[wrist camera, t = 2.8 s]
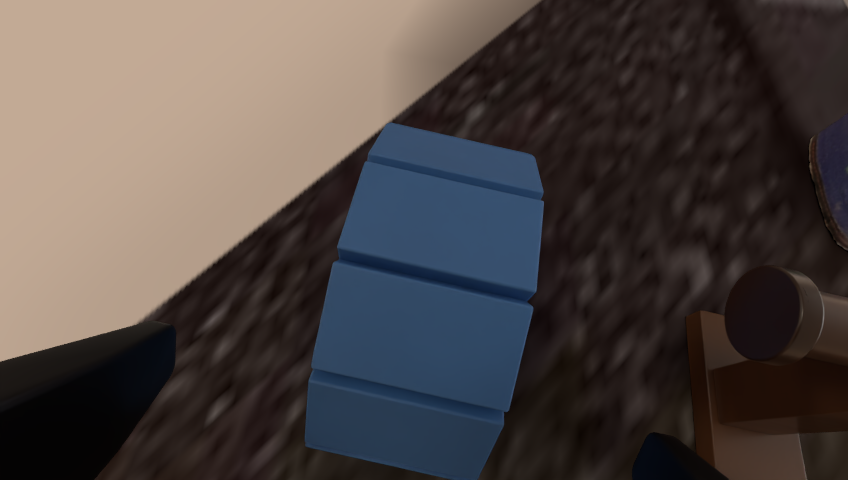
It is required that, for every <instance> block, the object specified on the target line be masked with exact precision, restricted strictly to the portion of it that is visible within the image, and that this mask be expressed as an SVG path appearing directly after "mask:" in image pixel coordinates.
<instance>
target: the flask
mask: <svg viewBox="0 0 848 480" xmlns="http://www.w3.org/2000/svg"><path fill="white" fill-rule="evenodd" d="M810 141H811V143H810V144H809V153H810V154H809V155H810V156H809V161H810V166H809V167H810V172H811V174H812V179H813V181H814V182H815V185H816V186H815V187H816V191H815V192H816V194H817V196H818V201H819V205H820V206H821V210H822V212H823V214H822V215H823V216H824V218H825V224H826V227H828V229H829V230H830V231H831V233H832V235H833V236H832V237H833V238H834V240H836V242H837V245H840V246H842V247H843V248H844V249H846V250H847V251H848V113H847V114H846V115H844V116H843V117H842V118H840V119H839V120H838V121H836V122H834V123H833V124H831V125H830V126H829V127H827V128H826V129H825V130H823V131H821V132H819V133H818V134H817V135H815V136H813V137H812V138H811V140H810Z"/></svg>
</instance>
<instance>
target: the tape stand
mask: <svg viewBox="0 0 848 480" xmlns="http://www.w3.org/2000/svg"><path fill="white" fill-rule="evenodd" d="M686 329H687V342H688V354H689V367H690V379H691V391H692V404H693V416H694V429H695V441H696V453H697V455H699V456H700V457H701V458H703V459H704V460H705V461H707V462H708V463H709V464H710V465H712V466H713V467H714V468H716V469H717V470H718V471H719V472H721V473H722V474H723V475H725V476H726V477H727V478H728V479H730V480H807V478H806V472H805V467H804V461H803V456H802V450H801V445H800V439H799V434H802V433H820V432H839V431H848V298H847V297H843V296H838V295H834V294H829V293H825V292H820V291H819V290H818V288H817V287H816V285H815V284H814V283H813V282H812V280H810V279H809V278H808V277H807V276H806V275H804V274H802V273H801V272H798V271H796V270H792V269H787V268H783V267H778V266H774V265H765V266H760V267H756V268H754V269H752V270H750V271H748V272H747V273H745V274H744V275H743V276H742V277H741V278H740V279H739V280H738V281H737V282H736V284H735V285H734V287H733V288H732V290H731V292H730V294H729V297H728V300H727V303H726V307H725V316H724V315H720V314H715V313H711V312H707V311H702V310H700V311H697V312H695V313H693V314H691V315H689V316H686Z"/></svg>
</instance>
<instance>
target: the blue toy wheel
mask: <svg viewBox="0 0 848 480" xmlns="http://www.w3.org/2000/svg"><path fill="white" fill-rule="evenodd" d="M542 196H543V188H542V184H541V180H540V176H539V172H538V168H537V164H536V160H535V157H534V156H532V155H531V154H527V153H523V152H518V151H514V150H509V149H505V148H501V147H496V146H492V145H487V144H483V143H478V142H474V141H470V140H465V139H461V138H456V137H452V136H448V135H443V134H439V133H434V132H430V131H425V130H421V129H417V128H412V127H408V126H403V125H399V124H394V123H387V124H386V126H385V127H384V129H383V131H382V132H381V134H380V136H379V137H378V139H377V140H376V142H375V144H374V145H373V147H372V149H371V150H370V152H369V153H368V161H366V162H365V163H364V166H363V169H362V172H361V175H360V178H359V181H358V184H357V187H356V190H355V194H354V197H353V200H352V203H351V206H350V209H349V212H348V215H347V218H346V221H345V224H344V227H343V230H342V233H341V237H340V240H339V243H338V246H337V247H338V253H339V259H340V260H337V261H335V262H334V263H333V265H332V269H331V274H330V279H329V283H328V288H327V293H326V297H325V302H324V307H323V311H322V316H321V321H320V325H319V330H318V334H317V339H316V344H315V348H314V353H313V358H312V362H311V368H313V371H312V373H311V376H310V378H309V381H308V397H307V412H306V428H305V442H306V444H305V446H306V447H309V448H313V449H318V450H322V451H327V452H331V453H335V454H340V455H344V456H349V457H353V458H358V459H362V460H367V461H371V462H376V463H380V464H384V465H389V466H393V467H398V468H402V469H407V470H411V471H416V472H420V473H425V474H429V475H433V476H438V477H442V478H447V479H451V480H477V479H478V477H479V475H480V473H481V471H482V469H483V467H484V465H485V463H486V461H487V459H488V457H489V455H490V453H491V451H492V449H493V446H494V444H495V442H496V440H497V438H498V436H499V434H500V432H501V430H502V428H503V426H504V412H508V411H509V408H510V404H511V400H512V396H513V391H514V387H515V383H516V379H517V375H518V371H519V367H520V362H521V358H522V354H523V350H524V346H525V342H526V338H527V333H528V329H529V325H530V321H531V317H532V313H533V307H532V306H531V305H530V304H529V303H528V302H527V301H528V300H529V299H530V298H531V297H532V296H533V295H534V294H535V293H536V290H537V278H538V267H539V255H540V243H541V231H542V219H543V208H544V202H543V201H541V198H542Z"/></svg>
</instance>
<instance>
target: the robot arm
mask: <svg viewBox="0 0 848 480" xmlns="http://www.w3.org/2000/svg"><path fill="white" fill-rule="evenodd" d="M175 352H176V330H175V328H174V327H173V326H172V325H169V324H165V323H160V322H156V321H148V322H145V323H141V324H137V325H134V326H130V327H126V328H123V329H119V330H115V331H112V332H108V333H104V334H100V335H97V336H93V337H89V338H86V339H83V340H79V341H75V342H71V343H68V344H64V345H60V346H56V347H53V348H49V349H45V350H42V351H38V352H34V353H30V354H27V355H23V356H19V357H16V358H12V359H8V360H5V361H2V362H0V480H94V479H95V478H96V477H97V476H98V475H99V473H100V472H101V471H102V470H103V469H104V467H105V466H106V465H107V464H108V463H109V461H110V460H111V459H112V458H113V457H114V455H115V454H116V453H117V452H118V450H119V449H120V448H121V446H122V445H123V444H124V442H125V441H126V440H127V438H128V437H129V435H130V434H131V432H132V431H133V430H134V428H135V427H136V425H137V424H138V422H139V421H140V419H141V418H142V417H143V415H144V414H145V412H146V411H147V409H148V408H149V406H150V405H151V404H152V402H153V401H154V399H155V398H156V396H157V395H158V393H159V392H160V391H161V389H162V388H163V386H164V385H165V383H166V382H167V380H168V379H169V377H170V376H171V374H172V372H173V369H174V366H175ZM632 478H633V480H730V479H728V478H727V477H726V476H725V475H723V474H722V473H721V472H719V471H718V470H717V469H716V468H714V467H713V466H712V465H710V464H709V463H708V462H707V461H705V460H704V459H703V458H701V457H700V456H699V455H697V454H696V453H695V452H694V451H692V450H691V449H690V448H688V447H687V446H686V445H685V444H683V443H682V442H681V441H679V440H678V439H677V438H675V437H673V436H670V435H665V434H660V433H656V432H653V433H650V434H649V435H648V436H647V437H646V439H645V441H644V443H643V445H642V447H641V449H640V451H639V454H638V456H637V458H636V460H635V462H634V465H633V469H632Z"/></svg>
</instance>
